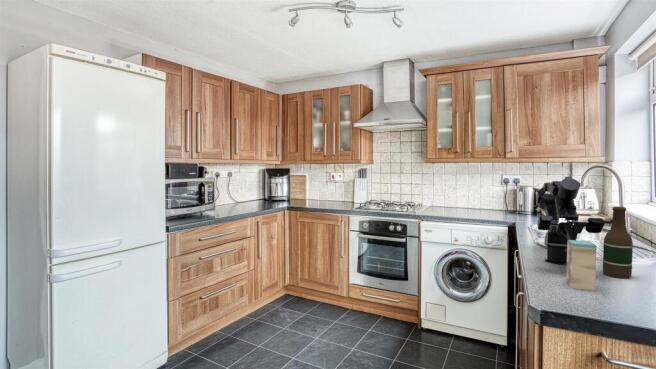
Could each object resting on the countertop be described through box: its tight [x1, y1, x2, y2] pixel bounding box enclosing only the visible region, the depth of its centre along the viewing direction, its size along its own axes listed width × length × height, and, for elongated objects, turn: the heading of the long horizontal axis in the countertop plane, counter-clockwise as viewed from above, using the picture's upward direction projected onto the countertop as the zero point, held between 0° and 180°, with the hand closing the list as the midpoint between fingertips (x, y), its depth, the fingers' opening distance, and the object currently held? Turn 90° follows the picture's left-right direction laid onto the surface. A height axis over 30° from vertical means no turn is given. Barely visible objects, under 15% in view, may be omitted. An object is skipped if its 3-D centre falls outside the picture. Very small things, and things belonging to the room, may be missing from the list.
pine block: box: [565, 239, 598, 291], centre depth 105 cm, size 6×6×14 cm
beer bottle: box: [602, 206, 634, 280], centre depth 115 cm, size 8×8×24 cm
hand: (573, 244), depth 113 cm, fingers closed
